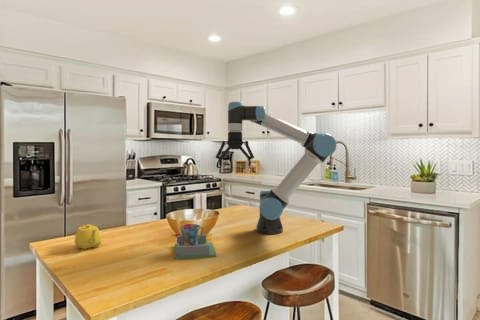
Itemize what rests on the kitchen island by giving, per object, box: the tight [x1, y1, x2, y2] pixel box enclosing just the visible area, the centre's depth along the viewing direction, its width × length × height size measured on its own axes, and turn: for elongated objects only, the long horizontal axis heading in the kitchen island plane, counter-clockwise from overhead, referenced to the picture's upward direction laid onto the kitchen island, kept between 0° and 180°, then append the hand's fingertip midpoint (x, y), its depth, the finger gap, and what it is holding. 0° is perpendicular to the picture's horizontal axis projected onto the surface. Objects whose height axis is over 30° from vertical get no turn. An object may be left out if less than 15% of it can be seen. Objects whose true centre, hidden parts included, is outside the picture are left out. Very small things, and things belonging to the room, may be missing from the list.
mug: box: [179, 223, 204, 246], centre depth 149 cm, size 12×9×11 cm
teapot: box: [74, 223, 102, 251], centre depth 153 cm, size 18×11×11 cm, turn 42°
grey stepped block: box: [174, 233, 217, 260], centre depth 149 cm, size 18×18×5 cm
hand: (234, 172), depth 171 cm, fingers open, 13 cm apart
